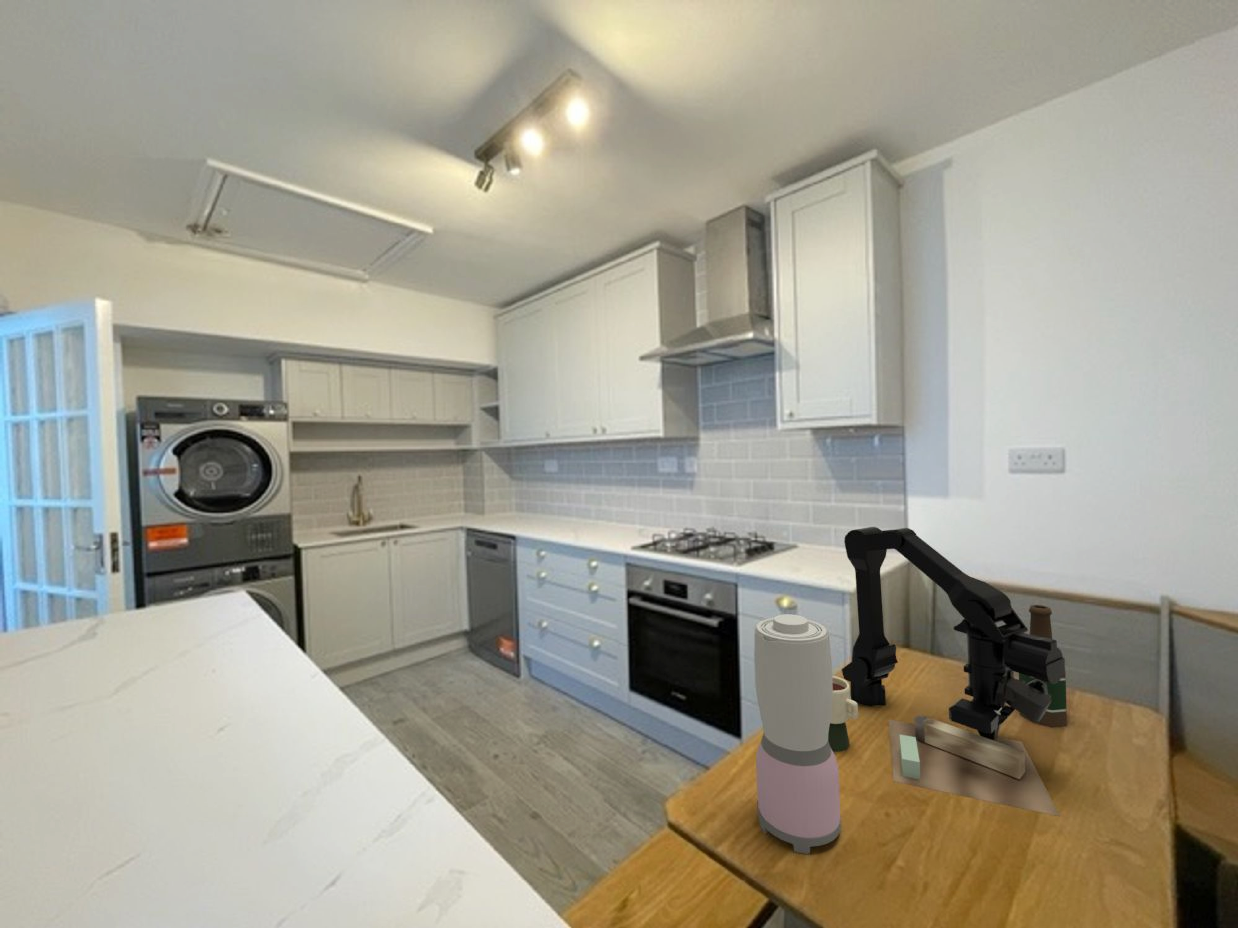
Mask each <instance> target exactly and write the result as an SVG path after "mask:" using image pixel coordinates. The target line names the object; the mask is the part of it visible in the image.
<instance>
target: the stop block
mask: <svg viewBox="0 0 1238 928" xmlns="http://www.w3.org/2000/svg"><path fill="white" fill-rule="evenodd" d="M899 738H900V756H901V765H902V774H903V776H904V777H909V778H914V779H919V780H920V761H919V755H918V749H917V743H916V737H911V736H905V735H900V734H899Z"/></svg>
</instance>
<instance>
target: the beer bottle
mask: <svg viewBox="0 0 1238 928" xmlns="http://www.w3.org/2000/svg"><path fill="white" fill-rule="evenodd" d="M1028 612H1029V613H1030V620H1029V621H1030V623H1029V634H1030V635H1034V636H1038V637H1042V638H1050V639H1053V632H1052V630H1053V629H1052V621H1051V616H1052V614H1053V612H1052V609H1051V607H1049V606H1046V605H1042V604H1033V605H1032V604H1031V605H1030V606H1029V609H1028ZM1035 679H1036V678H1033V677H1030V676H1027V675H1024V674H1021V673H1018V680H1020V681H1021V682H1022V681H1023V680H1024V681H1026V684H1027V683H1029V682H1030V681H1032V680H1035ZM1066 679H1067V674H1066V666H1065V667H1064V672H1063V675H1062V678H1061V679H1060V681H1059V682H1058V683H1056V684H1052V683H1049V682H1045V681H1043V682H1045V683H1046V684H1047V690H1048V694H1050V695H1051V697H1050V698H1051V699H1052V700H1051V702H1050V704H1049V706H1048V708H1047V710H1046V712H1045V714H1044V716H1043V717H1042V718H1041V719H1040V721H1039V722H1035V721H1032V720H1030V719H1029V718H1027V716H1026V715H1024V714H1022V713H1021V712H1019V715H1020V717H1022V718H1024V719H1026V720H1027V721H1028V722H1030V723H1032V724H1036V725H1041V726H1044V727H1048V728H1051V729H1052V728H1053V729H1054V728H1063V727H1064V728H1066V727H1067V725H1068V724H1067V723H1068V722H1067V721H1068V720H1067V719H1068V713H1067V712H1068V711H1067V710H1068V709H1067V680H1066ZM1041 681H1042V680H1041Z"/></svg>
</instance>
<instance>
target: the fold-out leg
mask: <svg viewBox="0 0 1238 928" xmlns="http://www.w3.org/2000/svg"><path fill="white" fill-rule="evenodd" d="M914 724H915V737H916V738H917V739H918V740H920V741H922V742H925V743H928V744H930V745H933V746H935V747H938V748H940V749H943V750H946V751H948V752H951V753H953V754H956V755H958V756H961V757H964V758H966V759H969V760H971V761H974V762H976V763H979V764H981V765H984V766H987V767H989V768H992V769H994V770H997V771H999V772H1002V773H1005V774H1007V775H1010V776H1012V777H1015V778H1017V779H1020V778H1021V777H1022V775H1023V774H1024V773H1025V751H1022V750H1019V749H1017V748H1014V747H1011V746H1008V745H1005V744H1002V743H999V742H997V741H994V740H991V739H988V738H985V737H982V736H980V734H979V735H977V734H978V733H974V732H971V731H968V730H966V729H964V728H963V729H962V728H960V727H956V726H954V725H951V724H949V723H945V722H942V721H940V720H937V719H935V718H931V717H929V716H926V715H916V716H914Z"/></svg>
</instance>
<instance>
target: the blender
mask: <svg viewBox="0 0 1238 928" xmlns="http://www.w3.org/2000/svg"><path fill="white" fill-rule="evenodd" d="M830 643H831V642H830V633H829V630H828V629H827V628H826V627H825V626H824V625H823V624H820V623H819V622H817V621H813V620H810V619H807V618H806V617H805V616H803V615H799V614H791V613H786V614H785V613H784V614H778V615H776V616H774V617H771V618H767V619H763V620H761V621H759V622H758V623H757V624H756V626H755V627H754V649H753V651H754V653H753V657H754V658H753V659H754V679H755V680H754V681H755V693H756V698H757V705H758V710H759V715H760V719H761V723H762V730H763V732H762V737H761V739H760V742H759V744H758V746H757V749H756V756H755V767H756V768H755V770H756V787H757V788H756V790H757V791H756V792H757V800H756V801H757V803H756V804H757V806H756V809H757V816H758V817H757V818H758V822H759V826H760V829H761V831H762V832H763V833H764V834H768V833H770V834H771V835H773V836H775V837H776V838H777V839H780V840H781V841H784V842H786V843H789V844H792V846H793V852H795V853H798V854H804V855H806V854H807V855H809V854H811V853H810V852H811V847H820V846H824V845H826V844H829V843H831V842H833V841H834V840H835V839H837V838H838V836H839V835H840V833H841V829H842V826H841V825H842V819H841V804H840V803H841V800H840V799H841V798H840V797H841V795H840V776H839V773H840V772H839V765H838V762H837V758H836V756H835V752H834V751H832V749H831V747H830V745H829V742H828V732H829V726H830V718H831V711H832V701H833V683H832V676H833V665H832V664H833V662H832V653H831V644H830Z"/></svg>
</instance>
